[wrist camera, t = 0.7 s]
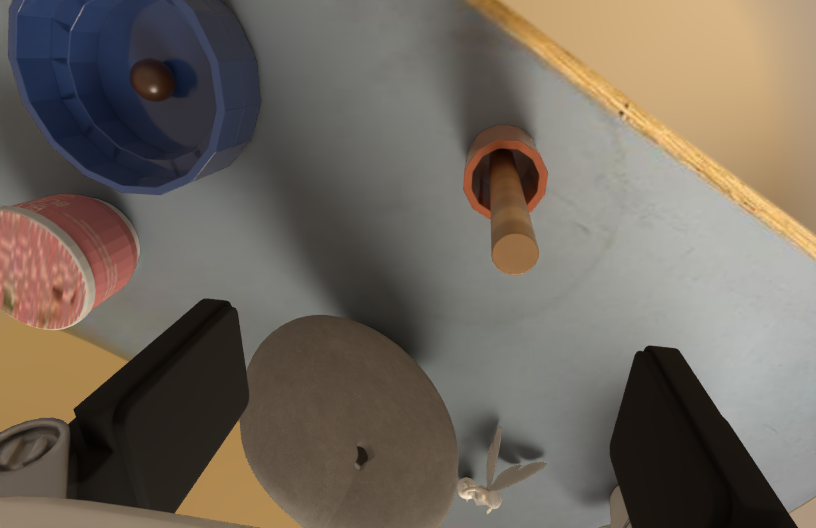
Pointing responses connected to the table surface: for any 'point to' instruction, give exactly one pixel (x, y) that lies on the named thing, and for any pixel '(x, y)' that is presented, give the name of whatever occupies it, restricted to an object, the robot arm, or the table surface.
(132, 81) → the bead
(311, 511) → the grey-brown thick disc
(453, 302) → the table surface
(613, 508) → the mug
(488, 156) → the holder
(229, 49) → the bowl
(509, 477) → the fairy figurine
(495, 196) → the stick
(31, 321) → the container
